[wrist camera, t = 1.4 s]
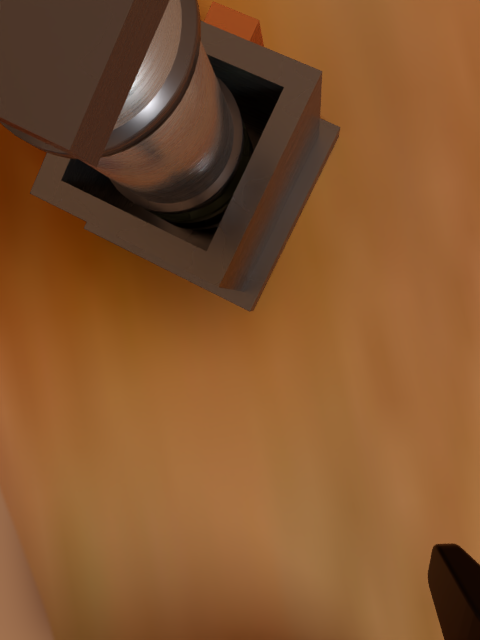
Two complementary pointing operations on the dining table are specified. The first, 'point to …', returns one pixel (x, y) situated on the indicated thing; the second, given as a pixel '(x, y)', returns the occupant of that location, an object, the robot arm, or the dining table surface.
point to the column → (126, 100)
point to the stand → (254, 187)
